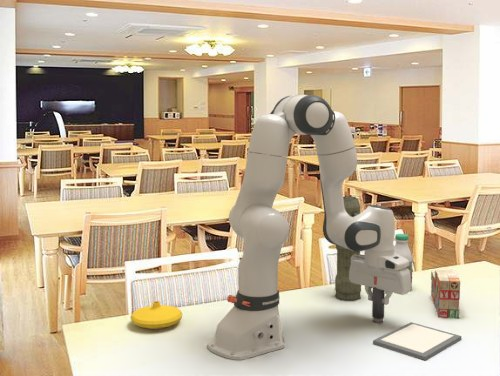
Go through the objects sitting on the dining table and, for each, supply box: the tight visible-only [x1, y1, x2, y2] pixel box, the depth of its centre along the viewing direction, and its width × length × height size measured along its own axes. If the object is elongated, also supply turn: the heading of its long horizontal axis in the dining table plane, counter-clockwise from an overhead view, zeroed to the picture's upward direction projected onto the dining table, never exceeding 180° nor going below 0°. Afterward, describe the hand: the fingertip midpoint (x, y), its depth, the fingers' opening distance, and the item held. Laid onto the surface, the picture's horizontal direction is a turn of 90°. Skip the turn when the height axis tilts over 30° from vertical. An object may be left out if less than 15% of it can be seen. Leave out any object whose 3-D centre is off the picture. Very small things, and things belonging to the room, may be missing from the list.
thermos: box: [334, 196, 362, 302], centre depth 205 cm, size 9×12×35 cm
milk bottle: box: [394, 233, 413, 290], centre depth 215 cm, size 8×8×20 cm
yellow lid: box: [130, 300, 183, 330], centre depth 183 cm, size 16×16×7 cm
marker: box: [371, 277, 386, 324], centre depth 183 cm, size 4×4×14 cm
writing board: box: [372, 322, 462, 361], centre depth 167 cm, size 20×16×1 cm
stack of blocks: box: [430, 269, 461, 319], centre depth 196 cm, size 21×6×12 cm, turn 169°
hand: (378, 302), depth 183 cm, fingers closed on marker, 4 cm apart
